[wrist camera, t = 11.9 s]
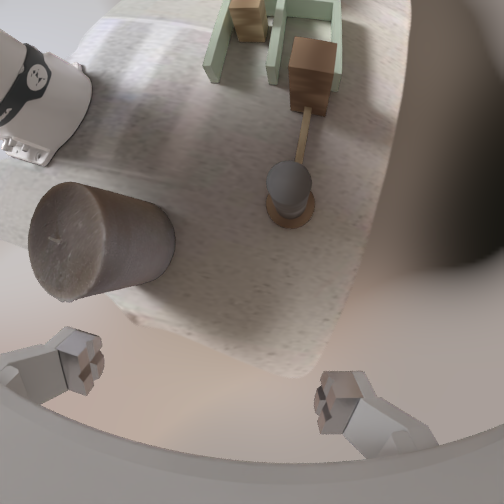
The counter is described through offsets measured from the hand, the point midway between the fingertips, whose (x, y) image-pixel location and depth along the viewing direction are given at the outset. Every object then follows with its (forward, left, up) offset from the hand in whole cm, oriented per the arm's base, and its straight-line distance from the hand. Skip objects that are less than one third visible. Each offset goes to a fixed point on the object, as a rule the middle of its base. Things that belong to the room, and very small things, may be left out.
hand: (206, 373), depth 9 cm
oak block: (-6, +33, -22) cm, 40 cm away
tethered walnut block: (+2, +16, -22) cm, 27 cm away
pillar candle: (-15, +3, -22) cm, 27 cm away
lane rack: (-2, +30, -22) cm, 37 cm away
